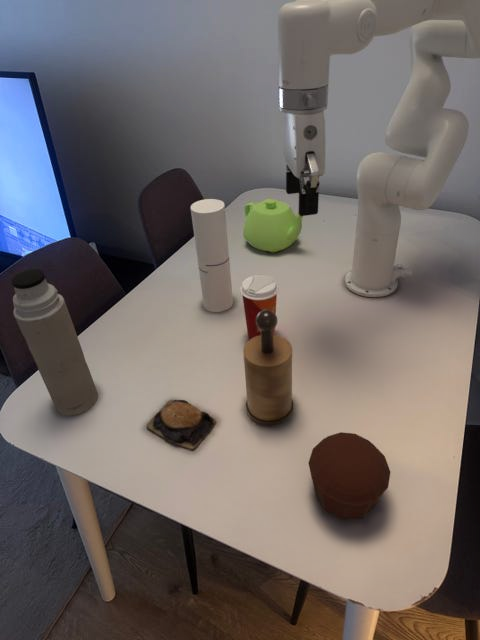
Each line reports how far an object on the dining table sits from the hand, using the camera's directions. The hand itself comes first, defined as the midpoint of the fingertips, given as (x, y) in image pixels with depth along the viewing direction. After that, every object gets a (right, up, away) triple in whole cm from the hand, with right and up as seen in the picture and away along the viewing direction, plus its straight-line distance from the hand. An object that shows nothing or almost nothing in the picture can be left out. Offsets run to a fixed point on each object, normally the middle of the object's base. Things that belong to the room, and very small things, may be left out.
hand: (301, 203), depth 81 cm
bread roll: (-21, -40, +1) cm, 45 cm away
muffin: (+5, -47, -12) cm, 49 cm away
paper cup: (-6, -25, +19) cm, 32 cm away
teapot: (-1, +1, +52) cm, 52 cm away
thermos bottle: (-42, -36, +7) cm, 56 cm away
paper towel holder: (-5, -37, +3) cm, 37 cm away
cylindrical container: (-16, -17, +30) cm, 38 cm away
